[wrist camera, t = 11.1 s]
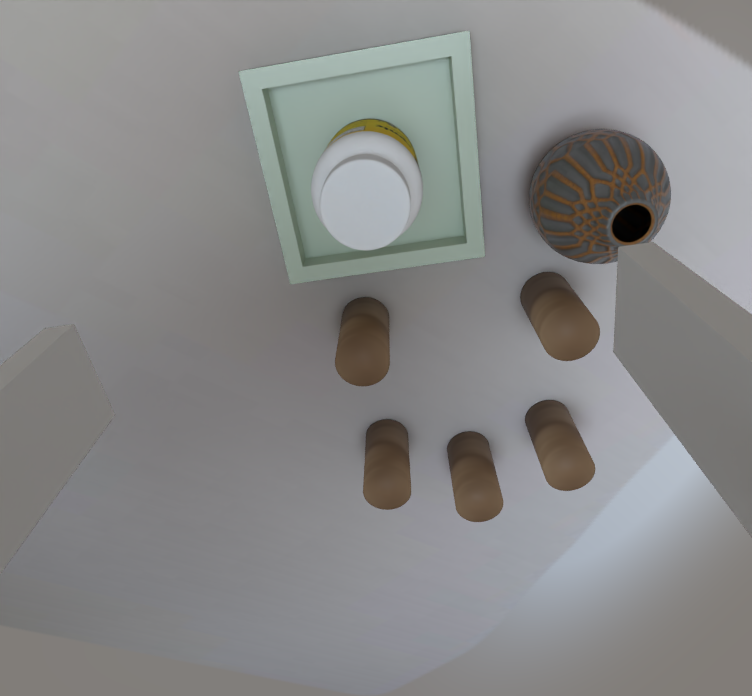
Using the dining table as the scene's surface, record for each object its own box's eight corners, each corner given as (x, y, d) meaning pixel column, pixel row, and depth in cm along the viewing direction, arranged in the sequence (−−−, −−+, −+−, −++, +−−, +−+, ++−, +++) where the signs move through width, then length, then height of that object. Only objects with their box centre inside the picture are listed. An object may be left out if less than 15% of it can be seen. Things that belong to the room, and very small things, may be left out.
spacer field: (373, 475, 45) (371, 532, 40) (338, 300, 38) (330, 342, 33) (568, 453, 44) (593, 510, 38) (569, 268, 37) (600, 307, 31)
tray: (295, 272, 37) (290, 284, 35) (247, 69, 31) (238, 71, 29) (479, 245, 36) (484, 256, 34) (464, 31, 30) (469, 30, 28)
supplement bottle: (433, 183, 33) (449, 231, 25) (355, 227, 35) (343, 288, 26) (388, 96, 31) (387, 116, 23) (306, 147, 33) (276, 185, 24)
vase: (633, 229, 35) (702, 281, 28) (521, 247, 36) (558, 303, 28) (638, 111, 32) (718, 133, 24) (515, 133, 33) (555, 161, 25)
